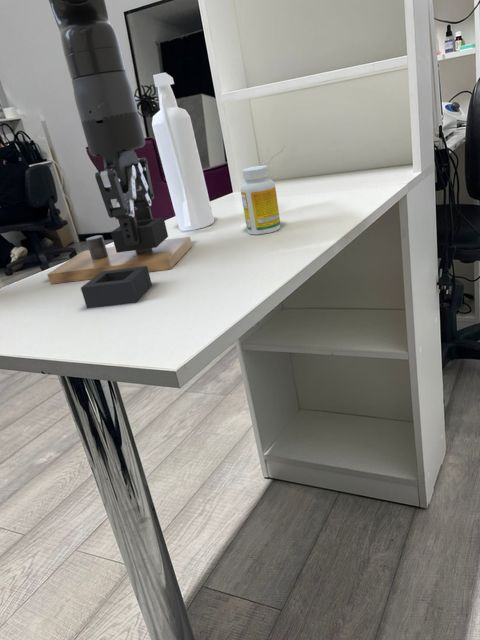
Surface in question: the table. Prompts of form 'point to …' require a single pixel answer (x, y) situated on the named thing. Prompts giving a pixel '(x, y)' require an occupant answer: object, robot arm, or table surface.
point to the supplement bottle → (259, 201)
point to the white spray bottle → (180, 159)
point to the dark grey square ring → (116, 287)
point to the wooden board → (119, 259)
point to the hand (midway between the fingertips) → (141, 238)
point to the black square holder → (143, 235)
